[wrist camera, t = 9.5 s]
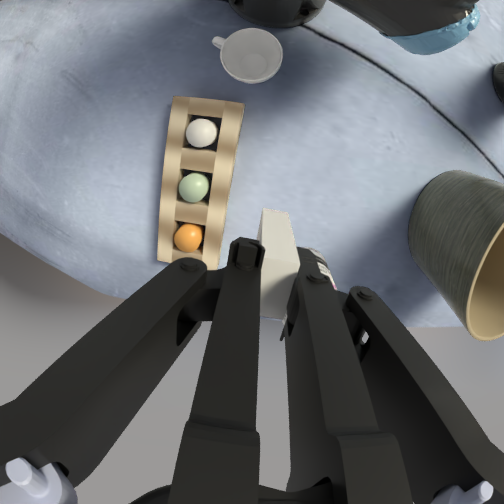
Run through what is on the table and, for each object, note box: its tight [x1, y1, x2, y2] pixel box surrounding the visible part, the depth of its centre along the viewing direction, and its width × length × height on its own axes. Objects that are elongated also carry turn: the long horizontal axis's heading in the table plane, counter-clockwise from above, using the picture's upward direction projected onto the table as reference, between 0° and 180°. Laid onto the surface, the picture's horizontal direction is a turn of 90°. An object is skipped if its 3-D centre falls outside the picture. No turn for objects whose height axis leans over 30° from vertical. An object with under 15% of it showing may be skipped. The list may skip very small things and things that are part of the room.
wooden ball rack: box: [157, 96, 245, 270], centre depth 41 cm, size 26×10×3 cm, turn 170°
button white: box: [186, 119, 219, 147], centre depth 37 cm, size 4×4×4 cm
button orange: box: [174, 222, 204, 252], centre depth 43 cm, size 4×4×4 cm
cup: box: [212, 28, 283, 84], centre depth 31 cm, size 8×10×7 cm
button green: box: [179, 171, 211, 202], centre depth 40 cm, size 4×4×4 cm
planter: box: [408, 170, 504, 341], centre depth 33 cm, size 22×22×20 cm
